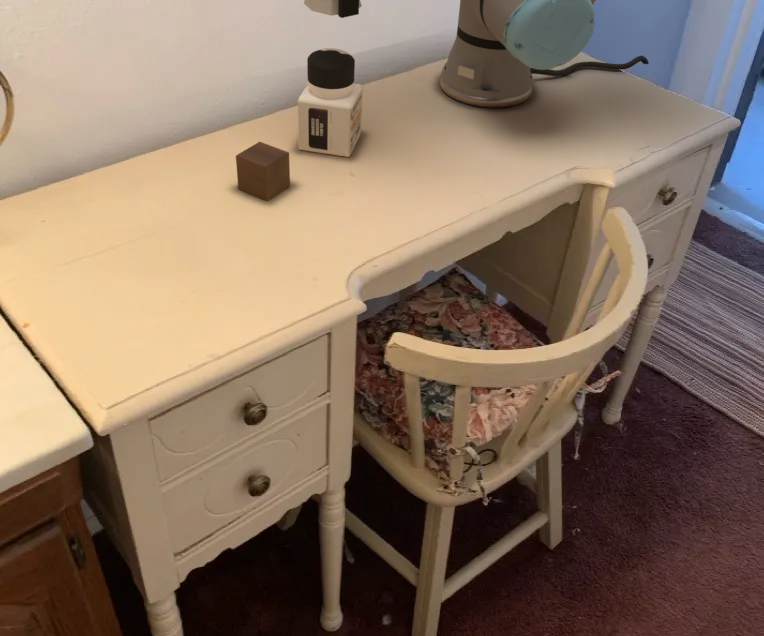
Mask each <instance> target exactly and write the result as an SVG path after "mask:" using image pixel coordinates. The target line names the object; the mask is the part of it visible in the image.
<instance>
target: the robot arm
mask: <svg viewBox="0 0 764 636" xmlns="http://www.w3.org/2000/svg"><path fill="white" fill-rule="evenodd" d="M596 1H597V0H460V1H459V10H458V18H457V19H458V20H457V27H456V28H457V29H456V36H455V40H454V42H453V44H452V46H451V49H450V52H449V54H448V57H447V60H446V62H445V63H444V65H443V67H442V70H441V74H440V83H439V84H440V88H441V90H442V91H443V92H444V93H445V94H446V95H447V96H449V97H450V98H452V99H454V100H456V101H459V102H461V103H463V104H468V105H472V106H475V107H476V106H477V107H484V108H505V107H512V106H516V105H520V104H521V103H524V102H526V100H528V99H529V98H530V97H531V94H532V92H533V91H532V90H533V85H534V84H533V82H534V81H533V80H534V79H533V75H543V76H550V77H561V76H565V75H568V74H570V73H572V72H573V71H575V70H578V69H582V68H595V69H604V70H612V71H613V70H614V71H616V70H617V71H618V70H619V71H620V70H627V69H630V68H632V67H634V66H635V65H636V64H638V63H639V62H641V64H643V65H649V60H648V58H647V57H645V55H638V56H636V57H633V58H632V59H631V60H629V61H627V62H625V63H610V62H602V61H579V62H575V63H573V64H571V65H569V66H567V67H565V68H563V69H562V68H561V69H554V68H557V67H561V66H564V65H566V64H568V63H569V62H571V61H572V60H574V59H575V58H577V56H578V55H579V54H581V52H582V51H583V50H584V49H585V48H586V46H587V45H588V43H589V42H590V40H591V38H592V36H593V33H594V30H595V27H596V26H595V25H596V22H595V17H596V13H595V12H596V11H595V8H594V4H595V3H596ZM359 14H360V8H359V0H339V7H338V15H337V16H338V17H339V18H341V19H344V18H349V17H353V16H358V15H359Z"/></svg>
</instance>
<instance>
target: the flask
mask: <svg viewBox="0 0 764 636" xmlns="http://www.w3.org/2000/svg"><path fill="white" fill-rule="evenodd" d="M303 4H304V5H305V7H307V8H308V9H309V10H310V11H312V12H315V13H320V14H323V15H327V16H338V7H339V0H304V1H303ZM362 6H363V5H362V1H361V0H359V9H360V8H362Z"/></svg>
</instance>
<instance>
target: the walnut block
mask: <svg viewBox="0 0 764 636" xmlns="http://www.w3.org/2000/svg"><path fill="white" fill-rule="evenodd" d="M235 163H236V177H237V189H238V190H239V191H241V192H244V193H246V194H249V195H251V196H254V197H257V198H258V199H261V200H264V201H266V202H268V201H270V200H271V199H273V198H274V197H276V196H277V195H279V194H280V193H282V192H283V191H285V190H287V189H288V188H289V187H291V174H290V173H291V172H290V170H291V167H290V152H289V151H286V150H284V149H280V148H278V147H275V146H273V145H270V144H267V143H265V142H263V141H257V142H256V143H254V144H253V145H251V146H250V147H247V148H246V149H244V150H243V151H240V152H239V153H238V154H236V155H235Z"/></svg>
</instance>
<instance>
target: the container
mask: <svg viewBox="0 0 764 636" xmlns="http://www.w3.org/2000/svg"><path fill="white" fill-rule="evenodd" d="M306 60H307V64H306V65H307V68H306V70H307V85H306V86H305V88H304V89H303V90H302V93H301V94H300V95H299V97H298V98H297V133H298V134H297V136H298V139H297V140H298V149H299V151H306V152H312V153H319V154H325V155H332V156H340V157H347V158H349V157H350V156H351V155H352V153H353V151H354V148H355V147H356V145H357V142H358V141H359V139H360V136H361V135H362V119H363V118H362V116H363V115H362V114H363V113H362V112H363V111H362V110H363V92H364V91H363V90H364V89H363V88H364V87H363V85H362V84H360V83H359V84H358V83H355V73H356V72H355V69H356V59H355V58H354V56H353V55H352V54H351V53H349V52H348V51H346V50H342V49H339V48H333V47H326V48H320V49H317V50H314V51H313V52H311V53H310V54H309V55H308V56H307V59H306Z"/></svg>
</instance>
